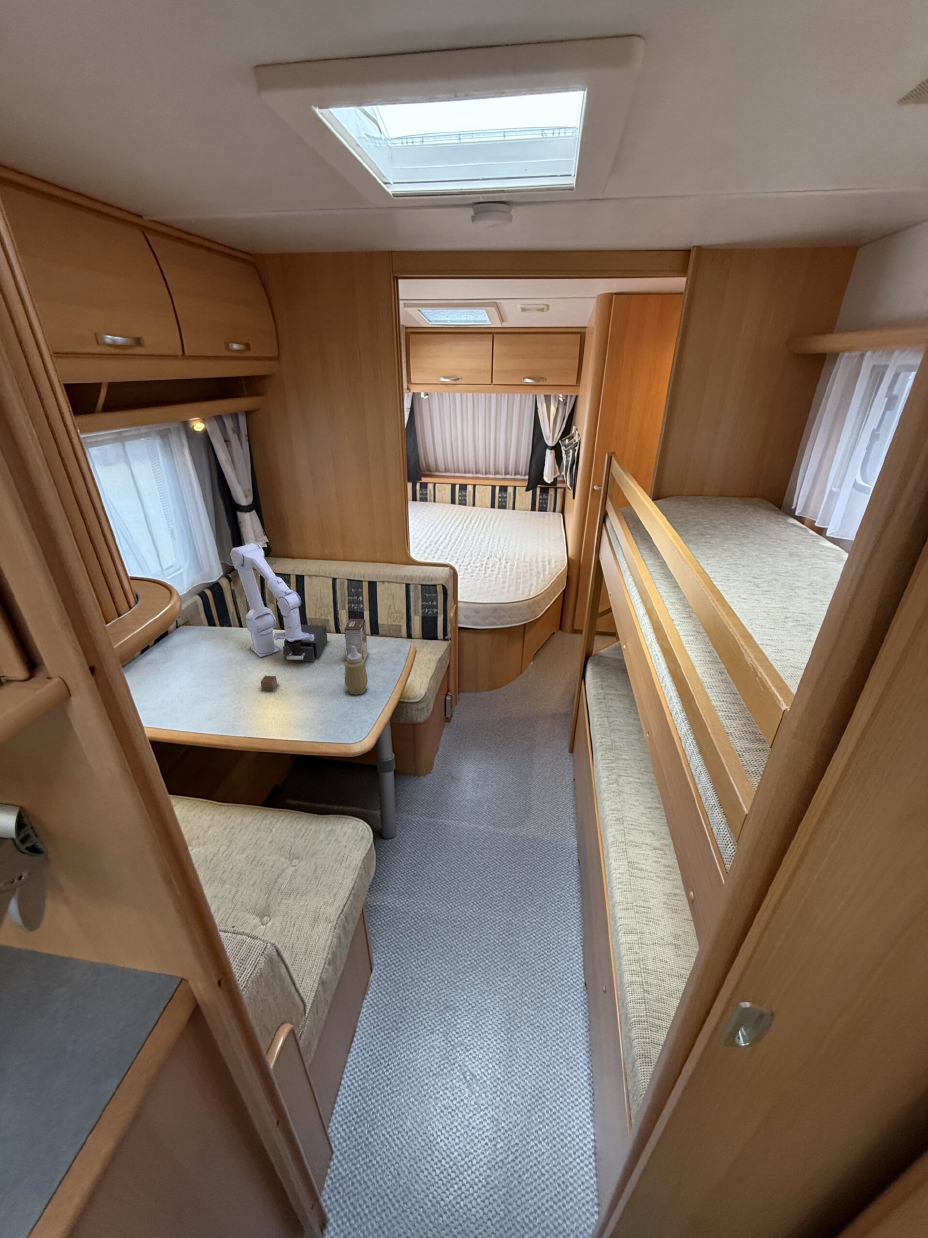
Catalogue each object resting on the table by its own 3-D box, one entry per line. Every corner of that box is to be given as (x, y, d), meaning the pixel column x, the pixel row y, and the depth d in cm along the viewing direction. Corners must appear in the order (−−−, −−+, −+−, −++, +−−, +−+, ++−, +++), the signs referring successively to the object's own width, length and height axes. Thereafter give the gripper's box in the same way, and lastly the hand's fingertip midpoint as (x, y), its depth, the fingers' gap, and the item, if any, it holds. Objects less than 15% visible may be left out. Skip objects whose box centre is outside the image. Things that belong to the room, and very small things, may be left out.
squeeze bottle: (363, 681, 182) (360, 639, 174) (372, 692, 176) (369, 648, 168) (342, 688, 178) (338, 644, 170) (350, 699, 172) (346, 654, 164)
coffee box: (352, 653, 200) (349, 618, 193) (368, 654, 200) (365, 618, 193) (346, 665, 192) (344, 628, 184) (363, 666, 192) (361, 629, 184)
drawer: (310, 667, 188) (308, 654, 185) (280, 666, 188) (278, 653, 185) (323, 644, 204) (322, 632, 201) (295, 643, 204) (294, 631, 201)
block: (273, 691, 174) (271, 682, 172) (262, 691, 174) (260, 681, 172) (277, 685, 178) (275, 675, 176) (266, 684, 178) (264, 675, 176)
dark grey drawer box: (317, 659, 195) (315, 642, 191) (286, 658, 195) (283, 641, 191) (327, 641, 208) (326, 625, 205) (297, 640, 208) (295, 624, 205)
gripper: (268, 628, 179) (273, 660, 185) (308, 630, 179) (312, 662, 185) (275, 620, 185) (280, 651, 191) (314, 621, 185) (317, 652, 191)
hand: (296, 656), depth 188 cm, fingers closed
